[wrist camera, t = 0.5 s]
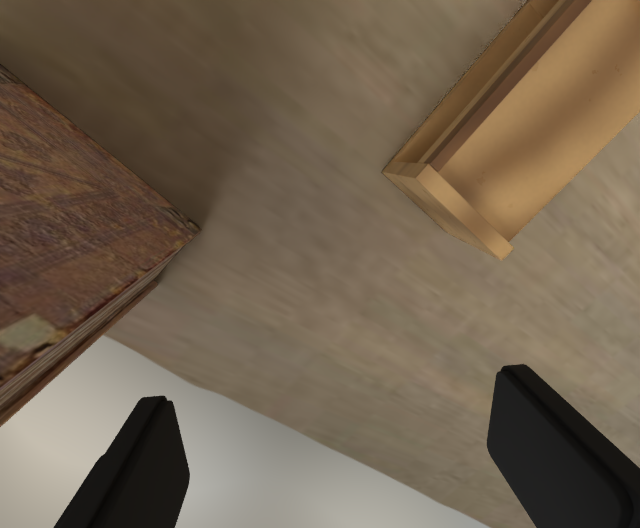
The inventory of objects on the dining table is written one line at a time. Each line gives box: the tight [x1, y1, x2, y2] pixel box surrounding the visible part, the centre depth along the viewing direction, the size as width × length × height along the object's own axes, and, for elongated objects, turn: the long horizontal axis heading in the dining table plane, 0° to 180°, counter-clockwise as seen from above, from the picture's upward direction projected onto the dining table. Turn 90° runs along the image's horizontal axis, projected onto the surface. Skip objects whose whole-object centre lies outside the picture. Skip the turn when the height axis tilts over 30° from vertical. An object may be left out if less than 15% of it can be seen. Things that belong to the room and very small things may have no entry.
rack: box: [382, 0, 640, 261], centre depth 31 cm, size 11×22×12 cm, turn 140°
